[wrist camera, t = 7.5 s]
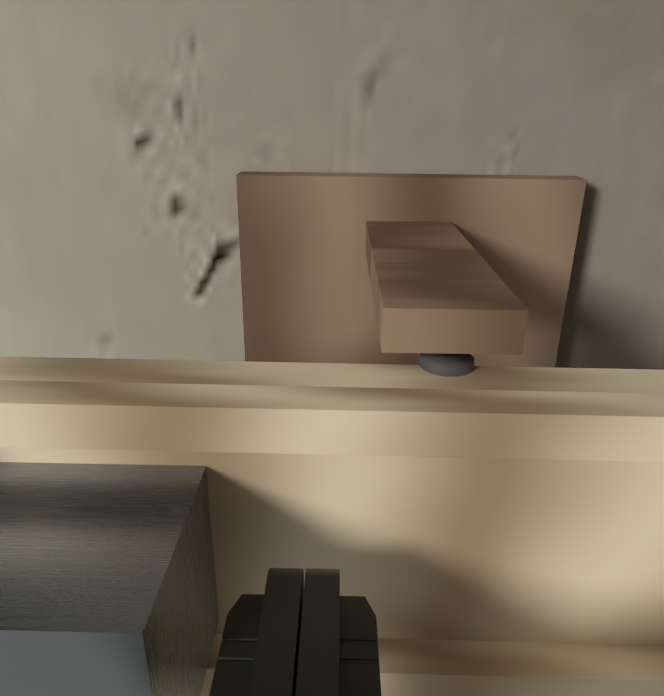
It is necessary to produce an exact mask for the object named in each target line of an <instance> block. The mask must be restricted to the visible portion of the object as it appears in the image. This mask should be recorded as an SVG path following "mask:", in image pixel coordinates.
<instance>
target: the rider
mask: <svg viewBox="0 0 664 696" xmlns="http://www.w3.org/2000/svg"><path fill="white" fill-rule="evenodd" d="M218 622H219V610H218V598H217V587H216V575H215V564H214V552H213V540H212V529H211V517H210V506H209V494H208V482H207V471H206V466H189V465H136V464H82V463H28V462H0V696H201V692H202V688H203V684H204V680H205V676H206V671H207V667H208V663H209V659H210V655H211V651H212V647H213V643H214V639H215V634H216V630H217V626H218Z"/></svg>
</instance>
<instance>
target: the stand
mask: <svg viewBox="0 0 664 696" xmlns="http://www.w3.org/2000/svg"><path fill="white" fill-rule="evenodd" d="M236 176H237V197H238V218H239V239H240V260H241V281H242V302H243V323H244V344H245V361H249V362H299V363H350V364H401V365H419V359H420V353H440V354H471V355H472V356H473V357H474V366H503V367H554V368H555V365H556V359H557V353H558V347H559V341H560V335H561V329H562V324H563V318H564V312H565V306H566V300H567V294H568V288H569V282H570V276H571V270H572V264H573V259H574V253H575V247H576V241H577V235H578V229H579V223H580V217H581V211H582V205H583V199H584V194H585V188H586V182H587V180H586V179H583V178H580V177H577V176H521V175H448V174H375V173H302V172H240V173H238V174H237V175H236Z"/></svg>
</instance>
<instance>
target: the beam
mask: <svg viewBox="0 0 664 696" xmlns="http://www.w3.org/2000/svg"><path fill="white" fill-rule="evenodd" d="M0 462H28V463H82V464H136V465H189V466H206V471H207V482H208V494H209V506H210V517H211V529H212V540H213V552H214V564H215V575H216V587H217V598H218V610H219V622H218V626H217V630H216V634H215V639H214V643H213V647H212V651H211V655H210V659H209V663H208V667H207V671H206V676H205V680H204V684H203V688H202V692H201V696H209V693H210V689H211V685H212V680H213V676H214V671H215V667H216V662H217V661H218V653H219V649H220V644H221V642H222V636H223V631H224V627H225V622H226V618H227V614H228V612H229V611H230V610H231V608H232V607H233V606H234V604H235V603H236V602H237V600H238V599H239V597H240V596H241V595H242V594H263V595H264V593H265V586H266V580H267V574H268V570H269V568H300V569H303V570H304V582H305V570H306V568H309V569H340V596H365V597H366V599H367V601H368V603H369V605H370V606H371V608H372V610H373V612H374V613H375V615H376V619H377V634H378V650H379V666H380V681H381V696H664V370H656V369H605V368H554V367H503V366H474V357H473V356H472V355H471V354H440V353H420V359H419V365H401V364H350V363H299V362H249V361H198V360H147V359H96V358H45V357H0Z"/></svg>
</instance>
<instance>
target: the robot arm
mask: <svg viewBox="0 0 664 696" xmlns="http://www.w3.org/2000/svg"><path fill="white" fill-rule="evenodd" d="M209 696H381V681H380V666H379V650H378V634H377V619H376V615H375V613H374V612H373V610H372V608H371V606H370V605H369V603H368V601H367V599H366V597H365V596H340V569H309V568H306V570H305V582H304V570H303V569H300V568H269V570H268V574H267V580H266V586H265V593H264V595H263V594H242V595H241V596H240V597H239V599H238V600H237V602H236V603H235V604H234V606H233V607H232V608H231V610H230V611H229V612H228V614H227V618H226V622H225V627H224V631H223V636H222V642H221V644H220V649H219V653H218V661H217V662H216V667H215V671H214V676H213V680H212V685H211V689H210V693H209Z"/></svg>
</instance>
